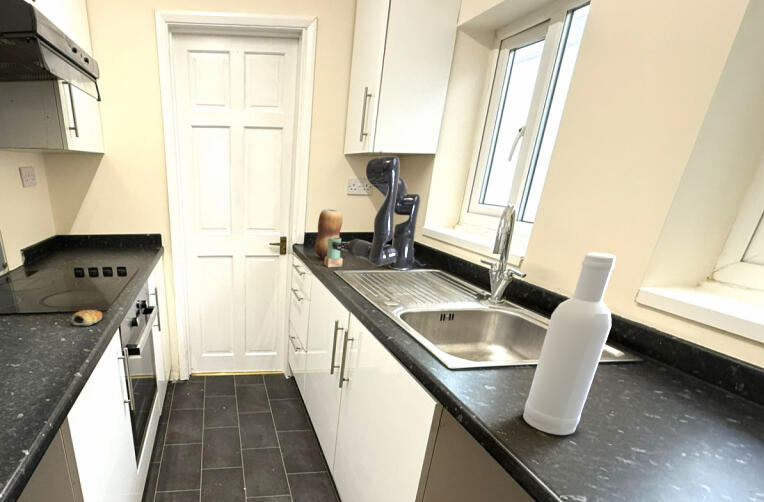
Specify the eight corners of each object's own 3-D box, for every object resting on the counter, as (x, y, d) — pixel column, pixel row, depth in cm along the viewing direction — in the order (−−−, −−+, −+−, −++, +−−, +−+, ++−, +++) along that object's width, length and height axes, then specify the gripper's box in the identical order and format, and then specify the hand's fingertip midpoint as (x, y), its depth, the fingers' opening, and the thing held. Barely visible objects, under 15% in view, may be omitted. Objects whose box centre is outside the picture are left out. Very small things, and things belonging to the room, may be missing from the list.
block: (337, 264, 203) (338, 256, 201) (342, 266, 197) (342, 258, 196) (324, 264, 202) (324, 256, 200) (328, 267, 196) (328, 258, 195)
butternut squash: (339, 262, 207) (343, 210, 198) (313, 261, 209) (315, 210, 200) (339, 257, 220) (343, 208, 210) (314, 256, 222) (317, 208, 212)
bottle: (557, 411, 77) (609, 250, 65) (586, 436, 69) (650, 259, 58) (513, 410, 77) (557, 249, 66) (537, 435, 70) (591, 259, 59)
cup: (337, 256, 201) (338, 237, 198) (341, 258, 196) (343, 239, 192) (325, 256, 200) (326, 237, 197) (329, 258, 195) (330, 239, 191)
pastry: (91, 315, 129) (89, 304, 128) (109, 318, 127) (107, 306, 126) (69, 325, 121) (67, 313, 119) (88, 328, 119) (86, 315, 117)
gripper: (375, 239, 176) (355, 234, 191) (346, 241, 172) (328, 236, 186) (373, 256, 179) (353, 250, 194) (345, 258, 175) (327, 252, 189)
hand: (341, 243), depth 190 cm, fingers open, 8 cm apart
